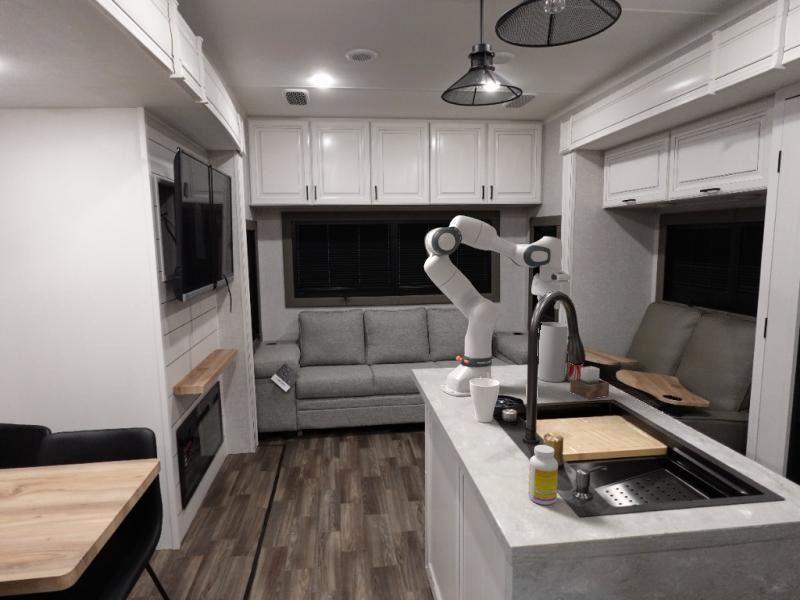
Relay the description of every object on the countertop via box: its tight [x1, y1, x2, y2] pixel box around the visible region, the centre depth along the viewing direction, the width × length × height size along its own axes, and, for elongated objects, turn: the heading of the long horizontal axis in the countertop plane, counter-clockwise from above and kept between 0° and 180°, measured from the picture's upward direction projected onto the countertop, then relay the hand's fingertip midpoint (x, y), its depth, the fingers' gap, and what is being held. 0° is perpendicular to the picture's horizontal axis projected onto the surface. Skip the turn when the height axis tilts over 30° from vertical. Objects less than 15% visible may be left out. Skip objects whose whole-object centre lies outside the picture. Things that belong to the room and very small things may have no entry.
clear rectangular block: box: [580, 365, 600, 385], centre depth 204 cm, size 6×4×10 cm, turn 114°
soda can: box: [565, 360, 584, 382], centre depth 224 cm, size 7×7×13 cm
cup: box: [469, 378, 501, 423], centre depth 175 cm, size 10×10×14 cm
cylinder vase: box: [538, 321, 569, 383], centre depth 226 cm, size 12×12×25 cm
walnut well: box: [569, 378, 610, 400], centre depth 205 cm, size 11×10×6 cm
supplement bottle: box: [528, 444, 559, 506], centre depth 122 cm, size 7×7×13 cm
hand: (549, 307), depth 213 cm, fingers open, 8 cm apart
